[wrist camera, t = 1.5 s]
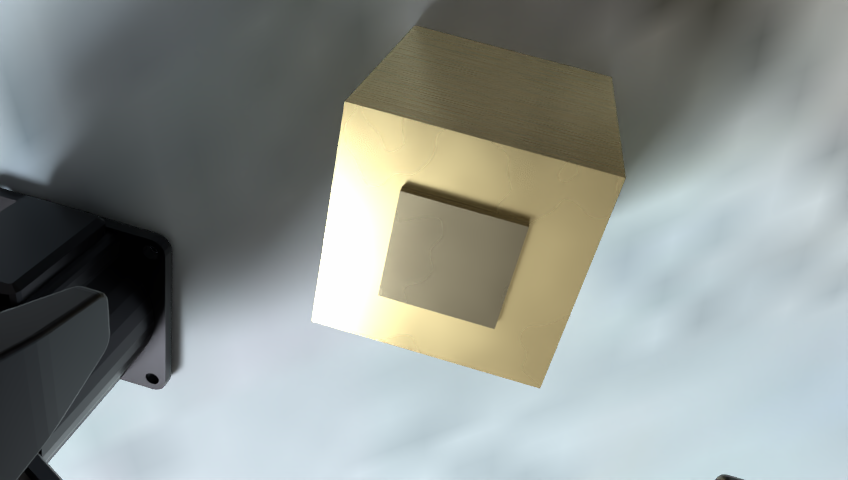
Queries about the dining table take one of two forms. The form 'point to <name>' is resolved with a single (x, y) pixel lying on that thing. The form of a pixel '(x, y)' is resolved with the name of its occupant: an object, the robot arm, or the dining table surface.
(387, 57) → the beige square block
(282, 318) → the dining table surface
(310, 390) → the dining table surface
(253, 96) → the dining table surface
